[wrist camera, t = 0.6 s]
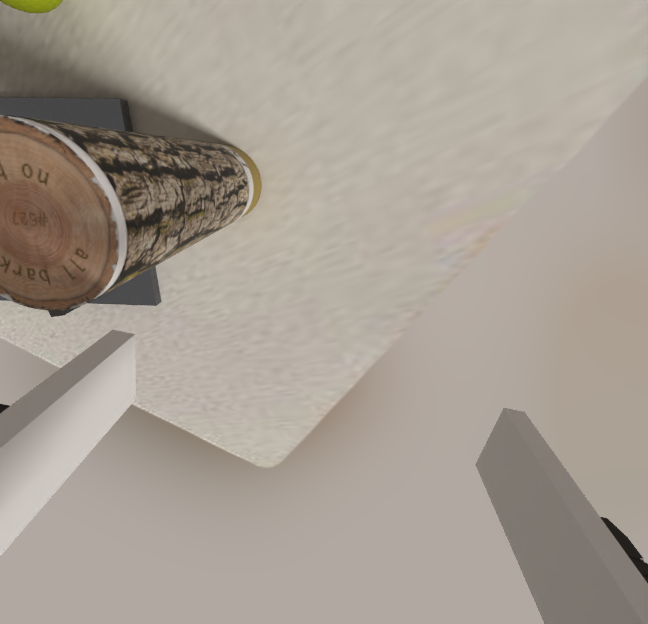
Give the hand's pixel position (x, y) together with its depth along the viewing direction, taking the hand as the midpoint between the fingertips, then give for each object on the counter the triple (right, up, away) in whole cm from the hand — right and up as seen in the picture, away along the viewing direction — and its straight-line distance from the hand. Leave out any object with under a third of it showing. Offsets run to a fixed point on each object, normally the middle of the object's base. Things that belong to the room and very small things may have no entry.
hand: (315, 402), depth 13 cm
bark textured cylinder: (-9, +16, +23) cm, 30 cm away
